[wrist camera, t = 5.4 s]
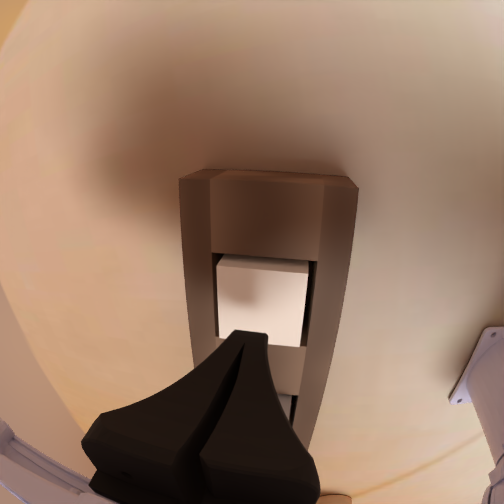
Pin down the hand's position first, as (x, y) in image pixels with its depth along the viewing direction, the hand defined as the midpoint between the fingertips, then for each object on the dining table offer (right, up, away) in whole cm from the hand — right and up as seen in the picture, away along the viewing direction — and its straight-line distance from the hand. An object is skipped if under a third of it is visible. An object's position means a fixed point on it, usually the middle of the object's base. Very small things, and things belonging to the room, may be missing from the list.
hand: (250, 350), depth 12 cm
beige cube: (+1, +2, +6) cm, 7 cm away
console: (+1, -6, +10) cm, 12 cm away
